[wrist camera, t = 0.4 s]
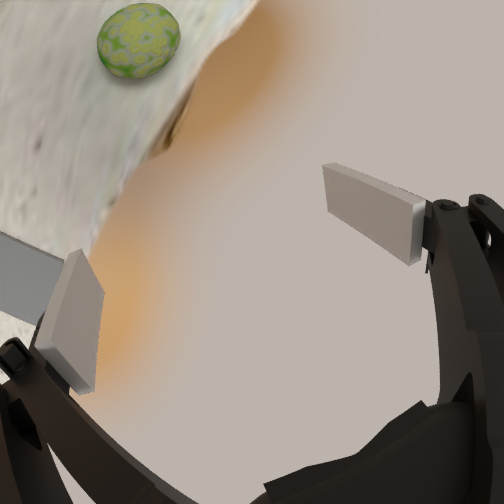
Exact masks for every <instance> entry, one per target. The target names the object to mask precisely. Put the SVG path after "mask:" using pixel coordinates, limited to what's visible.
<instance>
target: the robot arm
mask: <svg viewBox="0 0 504 504" xmlns="http://www.w3.org/2000/svg"><path fill="white" fill-rule="evenodd" d="M322 167H323V175H324V182H325V190H326V198H327V207H328V212H330V213H331V214H333V215H334V216H336V217H338V218H339V219H341V220H342V221H344V222H345V223H347V224H348V225H350V226H351V227H353V228H354V229H356V230H357V231H359V232H360V233H362V234H364V235H365V236H366V237H368V238H369V239H371V240H372V241H374V242H375V243H377V244H378V245H380V246H381V247H383V248H384V249H386V250H387V251H388V252H390V253H391V254H392V255H394V256H395V257H397V258H398V259H400V260H401V261H402V262H404V263H405V264H406V265H408V266H410V265H412V264H414V263H416V262H417V261H419V260H421V253H422V247H423V248H425V249H427V250H428V257H427V264H426V272H425V273H428V270H429V271H430V277H431V283H432V290H433V297H434V304H435V312H436V321H437V331H438V345H439V360H440V361H439V362H440V393H439V398H438V401H437V404H435V405H432V406H429V407H427V406H426V405H425V404H424V403H423V402H422V400H421V401H419V402H418V403H416V404H415V405H414V406H412V407H411V408H410V409H408V410H407V411H405V412H404V413H402V414H401V415H399V416H398V417H396V418H395V419H393V420H392V421H390V422H389V423H388V424H387V425H386V426H385V427H384V428H383V429H382V430H381V431H380V432H379V433H378V434H377V435H376V436H375V437H374V438H373V439H372V440H371V441H370V442H369V443H368V444H367V445H365V447H363V448H362V449H361V450H360V451H359V452H358V453H356V454H355V455H352V456H349V457H345V458H342V459H338V460H334V461H330V462H325V463H321V464H317V465H312V466H307V467H305V468H302V469H300V470H298V471H295V472H293V473H290V474H288V475H286V476H283V477H280V478H278V479H275V480H273V481H270V482H267V483H264V487H265V489H266V492H265V493H263V494H262V495H260V496H259V497H257V498H256V499H255V500H254V501H252V502H251V503H250V504H504V209H503V208H501V207H500V206H499V205H498V204H497V203H496V202H495V201H494V200H492V199H491V198H489V197H487V196H485V195H483V194H474V195H471V196H469V204H468V206H465V207H461V206H460V205H459V204H458V203H456V202H454V201H451V200H445V199H443V200H442V199H441V200H436V201H434V202H433V203H432V202H430V201H428V200H426V199H423V198H421V197H419V196H417V195H414V194H413V193H410V192H408V191H406V190H403V189H401V188H398V187H396V186H393V185H391V184H389V183H386V182H383V181H381V180H379V179H376V178H374V177H371V176H369V175H366V174H364V173H361V172H358V171H356V170H353V169H351V168H348V167H345V166H343V165H340V164H337V163H330V164H326V165H323V166H322ZM489 235H491V246H490V245H489V244H488V240H489ZM104 293H105V292H104V290H103V289H102V287H101V285H100V283H99V281H98V280H97V278H96V276H95V274H94V272H93V270H92V268H91V266H90V264H89V263H88V261H87V259H86V257H85V255H84V253H83V251H82V249H80V250H77V251H75V252H73V253H70V254H69V256H68V258H67V260H66V262H65V264H64V267H63V269H62V271H61V274H60V276H59V278H58V281H57V283H56V286H55V288H54V291H53V293H52V296H51V298H50V301H49V304H48V306H47V309H46V311H44V313H43V314H42V316H41V317H40V319H39V320H38V323H37V326H36V330H35V331H34V334H33V337H32V340H31V344H30V347H29V350H28V349H27V348H26V347H25V345H24V344H23V343H22V342H21V340H20V339H19V338H17V337H14V338H11V339H9V340H8V341H6V342H5V343H4V344H3V345H2V346H1V347H0V368H1V369H2V370H3V371H4V372H5V373H6V374H7V375H8V377H9V378H10V380H8V381H7V382H5V383H4V384H2V385H1V384H0V504H73V502H72V500H71V498H70V496H69V494H68V492H67V490H66V488H65V485H64V483H63V481H62V479H61V477H60V474H59V472H58V470H57V467H56V465H55V462H54V460H53V457H52V455H51V452H50V450H49V447H48V444H49V446H50V447H51V449H52V450H53V452H54V453H55V454H56V456H57V457H58V458H59V460H60V461H61V462H62V464H63V465H64V467H65V468H66V469H67V470H68V472H69V473H70V474H71V475H72V477H73V478H74V479H75V480H76V481H77V483H78V484H79V485H80V486H81V488H82V489H83V490H84V491H85V492H86V493H87V494H88V496H89V497H90V498H91V499H92V500H93V501H94V502H95V503H96V504H198V503H196V502H195V501H193V500H192V499H190V498H188V497H187V496H185V495H184V494H183V493H181V492H179V491H178V490H177V489H175V488H174V487H172V486H171V485H169V484H168V483H167V482H165V481H164V480H162V479H161V478H160V477H158V476H157V475H156V474H154V473H153V472H152V471H150V470H149V469H148V468H147V467H145V466H144V465H143V464H141V463H140V462H139V461H138V460H137V459H135V458H134V457H133V456H132V455H131V454H129V453H128V452H127V451H126V450H125V449H124V448H123V447H121V446H120V445H119V444H118V443H117V442H116V441H115V440H114V439H113V438H111V437H110V436H109V435H108V434H107V433H106V432H105V431H104V430H103V429H102V428H101V427H100V426H99V425H98V424H97V423H96V422H95V421H94V420H93V419H92V418H91V417H90V416H89V415H88V414H87V413H86V412H85V411H84V410H83V409H82V408H81V407H80V406H79V404H78V403H77V402H76V401H75V400H74V399H73V398H72V397H71V396H70V395H69V388H70V387H71V388H72V389H73V390H74V391H75V392H76V393H77V394H78V395H82V394H86V393H90V392H94V391H95V374H96V360H97V348H98V338H99V329H100V320H101V313H102V306H103V300H104ZM47 443H48V444H47Z"/></svg>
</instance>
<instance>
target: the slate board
mask: <svg viewBox="0 0 504 504" xmlns="http://www.w3.org/2000/svg"><path fill="white" fill-rule="evenodd" d="M63 263H64V260H63V259H60V258H58V257H56V256H53V255H51V254H49V253H46V252H44V251H42V250H39V249H37V248H35V247H33V246H30V245H28V244H26V243H24V242H22V241H19V240H17V239H15V238H13V237H11V236H9V235H7V234H5V233H3V232H1V231H0V310H1V311H3V312H5V313H7V314H9V315H11V316H14V317H16V318H18V319H20V320H23V321H25V322H27V323H30V324H32V325H35V326H37V323H38V320H39V319H40V317H41V316H42V314H43V313H44V311H46V309H47V306H48V304H49V301H50V298H51V296H52V293H53V291H54V288H55V286H56V283H57V281H58V278H59V276H60V274H61V270H62V266H63Z"/></svg>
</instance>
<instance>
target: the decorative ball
mask: <svg viewBox="0 0 504 504" xmlns="http://www.w3.org/2000/svg"><path fill="white" fill-rule="evenodd" d="M180 37H181V36H180V30H179V24H178V22H177V21H176V19H175V18H174V17H173V16H172V14H171V13H170V12H169V11H167V10H166V9H165V8H164V7H162V6H161V5H158V4H150V3H139V4H132V5H129V6H127V7H125V8H123V9H121V10H119V11H118V12H116V13H115V14H114V15H112V16H111V17H110V18H109V19H108V20H107V21H105V23H104V24H103V26H102V27H101V30H100V32H99V34H98V37H97V48H98V53H99V57H100V59H101V61H102V63H103V64H104V65H105V67H106V68H107V69H108V70H109V71H111V72H112V73H113V74H114V75H116V76H118V77H126V78H132V79H137V78H143V77H146V76H148V75H152V74H154V73H156V72H157V71H159V70H160V69H161V68H162V67H163V66H165V65H166V64H167V62H168V61H169V60H170V59H171V58H172V57H173V55H174V53H175V52H176V49H177V47H178V45H179V42H180Z"/></svg>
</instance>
